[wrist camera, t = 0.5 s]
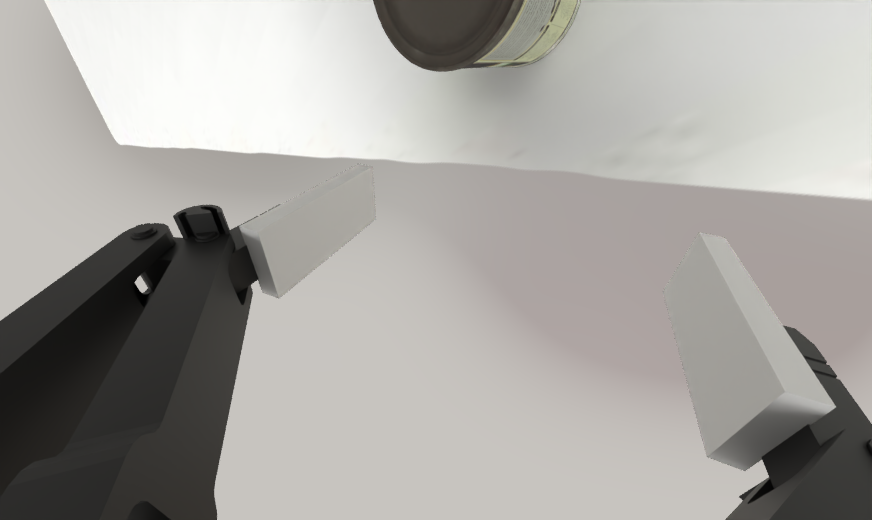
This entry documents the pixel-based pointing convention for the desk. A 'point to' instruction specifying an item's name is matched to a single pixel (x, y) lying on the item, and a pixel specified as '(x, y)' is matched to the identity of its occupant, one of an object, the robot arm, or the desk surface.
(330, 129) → the desk surface
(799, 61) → the desk surface
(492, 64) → the coffee can
